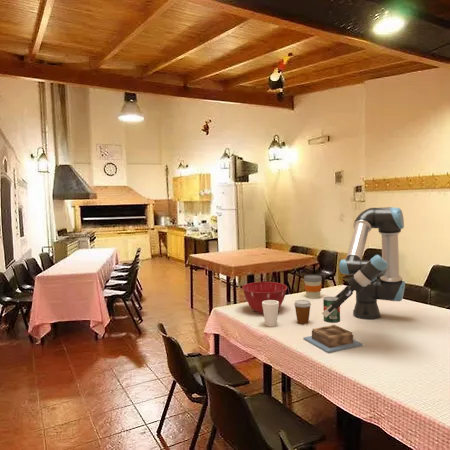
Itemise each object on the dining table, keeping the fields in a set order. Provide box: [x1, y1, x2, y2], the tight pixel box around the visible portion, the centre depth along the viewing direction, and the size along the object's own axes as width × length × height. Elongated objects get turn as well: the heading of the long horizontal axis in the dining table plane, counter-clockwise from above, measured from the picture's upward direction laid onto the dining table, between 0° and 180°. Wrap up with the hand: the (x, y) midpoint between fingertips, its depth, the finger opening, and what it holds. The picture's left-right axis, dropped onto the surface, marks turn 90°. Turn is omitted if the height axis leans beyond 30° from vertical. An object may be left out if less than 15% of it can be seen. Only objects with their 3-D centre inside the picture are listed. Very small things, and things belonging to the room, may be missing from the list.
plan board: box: [303, 335, 364, 354], centre depth 196 cm, size 20×20×1 cm
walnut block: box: [311, 324, 354, 348], centre depth 196 cm, size 14×14×5 cm
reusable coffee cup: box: [303, 274, 323, 300], centre depth 283 cm, size 13×13×15 cm
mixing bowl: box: [241, 281, 288, 314], centre depth 255 cm, size 28×28×16 cm
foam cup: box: [262, 300, 280, 328], centre depth 226 cm, size 10×9×13 cm
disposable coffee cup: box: [293, 299, 312, 325], centre depth 228 cm, size 10×10×12 cm
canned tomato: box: [322, 296, 341, 324], centre depth 195 cm, size 8×8×11 cm
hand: (324, 312), depth 196 cm, fingers closed on canned tomato, 8 cm apart
